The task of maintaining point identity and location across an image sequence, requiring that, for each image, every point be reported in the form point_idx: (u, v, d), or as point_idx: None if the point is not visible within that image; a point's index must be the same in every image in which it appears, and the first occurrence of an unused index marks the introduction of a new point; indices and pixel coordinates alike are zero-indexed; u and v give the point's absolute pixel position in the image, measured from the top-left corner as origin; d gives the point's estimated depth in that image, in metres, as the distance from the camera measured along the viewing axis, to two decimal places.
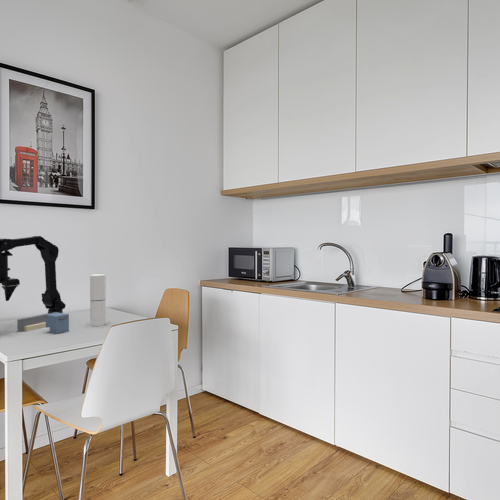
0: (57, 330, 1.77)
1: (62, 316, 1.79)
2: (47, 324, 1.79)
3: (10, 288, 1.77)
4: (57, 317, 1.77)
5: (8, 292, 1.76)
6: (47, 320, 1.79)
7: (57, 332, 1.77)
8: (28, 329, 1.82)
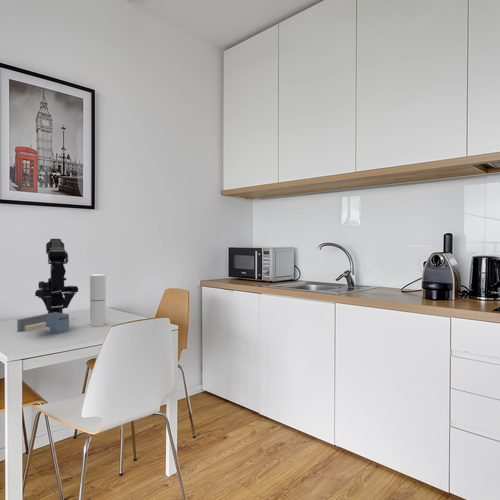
0: (57, 330, 1.77)
1: (62, 316, 1.79)
2: (47, 324, 1.79)
3: (47, 299, 1.75)
4: (57, 317, 1.77)
5: (45, 303, 1.75)
6: (47, 320, 1.79)
7: (57, 332, 1.77)
8: (28, 329, 1.82)
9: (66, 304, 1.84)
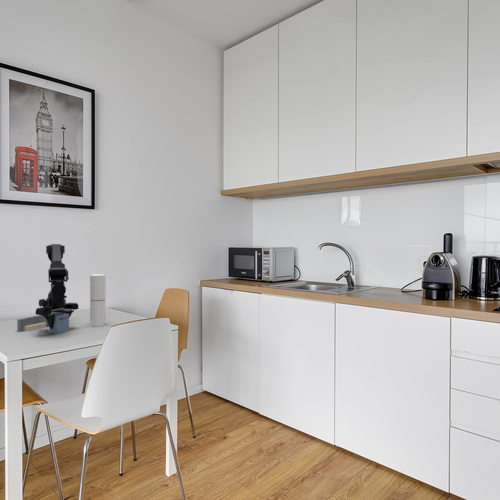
0: (57, 330, 1.77)
1: (62, 316, 1.79)
2: (47, 324, 1.79)
3: (49, 317, 1.76)
4: (57, 317, 1.77)
5: (48, 320, 1.76)
6: None
7: (57, 332, 1.77)
8: (28, 329, 1.82)
9: None
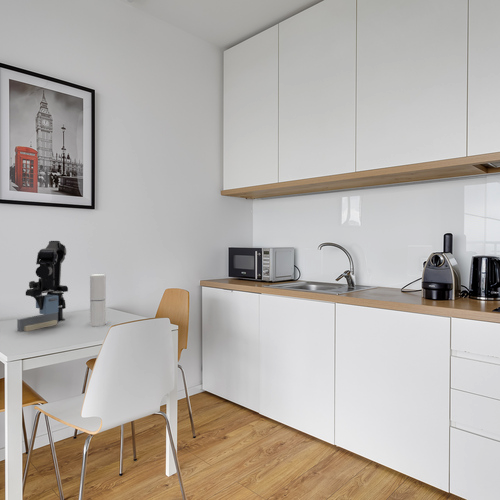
0: (47, 311, 1.83)
1: (52, 297, 1.85)
2: (37, 305, 1.85)
3: (39, 298, 1.82)
4: (47, 298, 1.82)
5: (38, 301, 1.82)
6: None
7: (47, 313, 1.83)
8: (28, 329, 1.82)
9: None
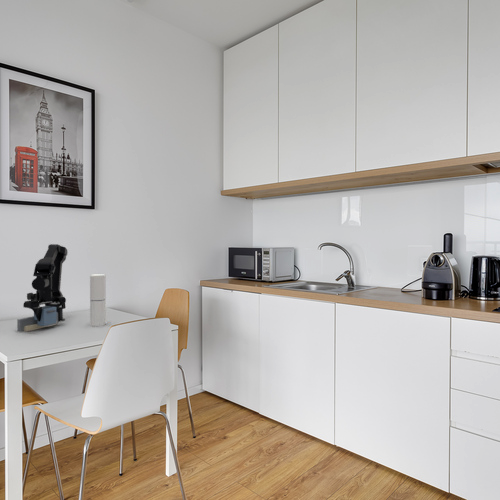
0: (45, 323, 1.83)
1: (50, 309, 1.86)
2: (35, 317, 1.85)
3: None
4: (45, 310, 1.83)
5: (36, 313, 1.83)
6: None
7: (45, 324, 1.83)
8: (28, 329, 1.82)
9: None
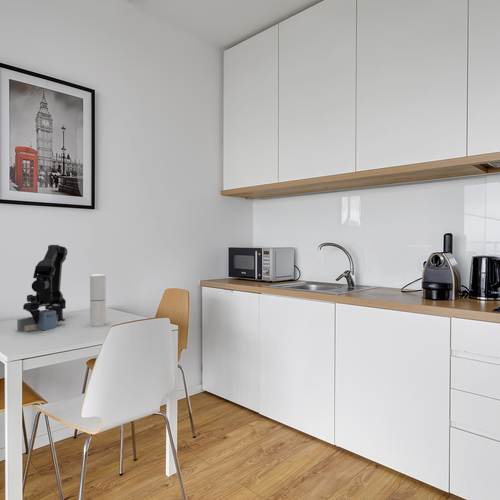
0: (45, 327, 1.83)
1: (49, 313, 1.86)
2: None
3: (35, 312, 1.82)
4: (44, 314, 1.83)
5: (33, 315, 1.82)
6: None
7: (44, 328, 1.83)
8: (28, 329, 1.82)
9: None
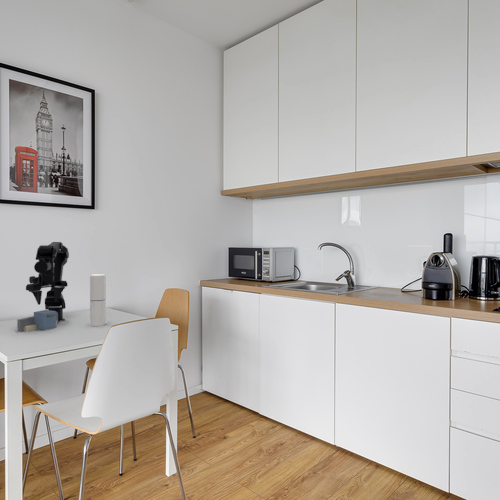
0: (45, 327, 1.83)
1: (49, 313, 1.86)
2: (35, 321, 1.85)
3: (37, 293, 1.85)
4: (44, 314, 1.83)
5: (36, 296, 1.85)
6: (35, 317, 1.85)
7: (44, 328, 1.83)
8: (28, 329, 1.82)
9: (56, 298, 1.94)
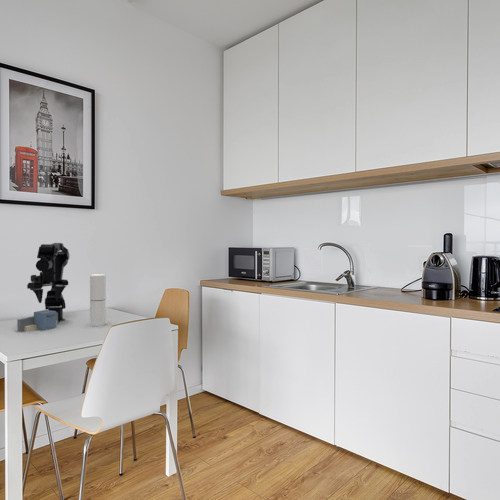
0: (45, 327, 1.83)
1: (49, 313, 1.86)
2: (35, 321, 1.85)
3: (38, 291, 1.86)
4: (44, 314, 1.83)
5: (37, 295, 1.86)
6: (35, 317, 1.85)
7: (45, 328, 1.83)
8: (28, 329, 1.82)
9: (57, 296, 1.96)
